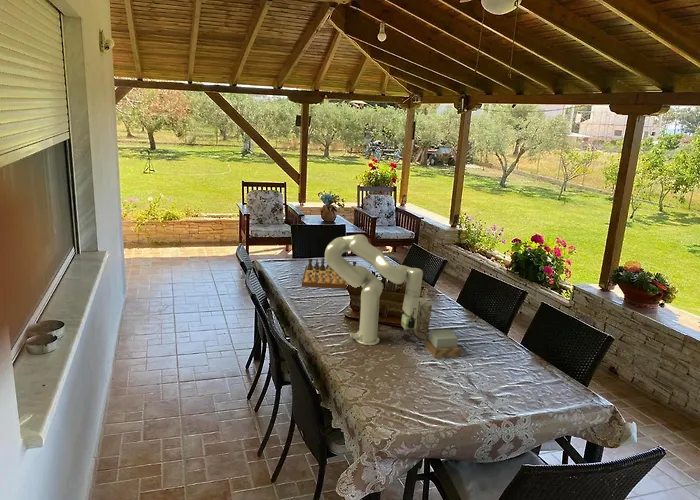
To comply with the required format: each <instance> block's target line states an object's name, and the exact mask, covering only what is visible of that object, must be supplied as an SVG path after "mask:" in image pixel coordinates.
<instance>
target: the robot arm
mask: <svg viewBox="0 0 700 500" xmlns="http://www.w3.org/2000/svg"><path fill="white" fill-rule="evenodd" d="M348 252H351V253H352V254H354V255H355V256H357V257H359V258H360V259H362V260H363V261H365V262H366V263H368V264H369V265H371V267H373V268H374V269H375V270H376V271H377V272H378V273H379V275H381V276H382V277H383V278H385V279H386V280H388V281H390V282H391V283H393V284H396V285H402V284H404V282H406V284H405V291H404V292H405V293H404V297H403V303H402V311H403V312H404V313H403V314H407V315H408V316H410V321H409V323H408V328H414V325H415V320H416V318H417V314H418V306H419V297H420V296H421V292H422V284H423V283H422V281H423V277H424V276H423V275H424V271H423V270H422V269H421V268H417V267H410V266H407V265H403V264H398V265H396V266H395V265H393V264H392V263H390V262H389V261H388V260H387V258H386V257H385V255H384V253H383V252H382V251H381V250H380V249H378V248H377V247H376V246H374V245H372V244H371V243H370V242H369V240H368V237H366V235H363V234H361V233H360V234H352V235H351V234H350V235H345V236H339V237H336V238H334V239H332V240H331V241H330V242H329V243H328V244H327V246H326V248H325V251H324V260H325V263H326V265H327V264H328V266H329V267H330V268H331V269H333V270H334V271H335V272H336V273H337V274H338V275H339V276H340V277H342V278H343V279H344V280H345V281H346V282H347V283H348V284H349V285H351V286H352V287H354V288H357V287H360V286H361V292H360V293H361V294H360V315H359V327H358V328H359V329H358V330H357V332H355V333H354V332H353V333H352V332H351V333H349V336H350V338H353V339H355V341H356V342H357V343H358V344H360V345H365V346H375V345H377V344H379V342H380V338H379V336H378V328H379V327H378V324H379V315H380V314H379V313H380V297H381V294H382V292H383V289H384V285H383V283H382V281H381V280H380V279H379V278H378V277H377V276H375V275H374V274H373V272H371V271H370V270H369V269H368V268H366V267H365V266H363V265H359V264H358V265H357V264H356V266H353V263H351V262H350V261H349V262H348V260H347V259H345V258H343V256H342V255H343V254H344V253H348ZM420 298H421V297H420ZM412 314H413V315H412ZM411 316H414V317H412V318H411Z"/></svg>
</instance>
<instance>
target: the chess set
mask: <svg viewBox="0 0 700 500" xmlns="http://www.w3.org/2000/svg"><path fill="white" fill-rule="evenodd" d="M320 261H321V263H320V264H319V262H318V258H316V260H315V264H314V266H313V259H312V258H308V264H307V265H305V268H304V273H303V277H302V280H301V287H302V288H319V289H333V290H335V289H336V290H338V289H340V290H347V289H346V287H347V285H349V284H348V283H347V282H346V281H345V280H344V279H343V278H342V277H340V276H339V275H338V274H337V273H336V272H335V271H334V270H333V269H331V268H330V267H329V266H328V264H327V263H326V266H325V262H326V260H325V257H322V258H321V260H320ZM347 261H348V262H349V263H350V260H347ZM319 265H320V266H319ZM352 265H353V266H357V261H352Z"/></svg>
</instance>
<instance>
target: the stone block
mask: <svg viewBox="0 0 700 500" xmlns="http://www.w3.org/2000/svg"><path fill="white" fill-rule="evenodd" d="M432 309H433V304H432V303H430V301H428V299H426V298H425V297H419V306H418V314H417V325H416V329H411V331H412V333H413V334H414V335H415V336H416V337H417V338H418V339H421V340H425V339H427V338H428V334H429V329H430V321H431V316H432V315H431V314H432Z"/></svg>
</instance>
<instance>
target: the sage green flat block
mask: <svg viewBox="0 0 700 500" xmlns="http://www.w3.org/2000/svg"><path fill="white" fill-rule="evenodd" d="M428 338H429V340H430V341H431V343H432V344H433V345H434V346H435V347H436V348H453V347H457V345H458V340H459V337H457V336H456V334H454V333H453V332H452V331H451V329H428Z"/></svg>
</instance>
